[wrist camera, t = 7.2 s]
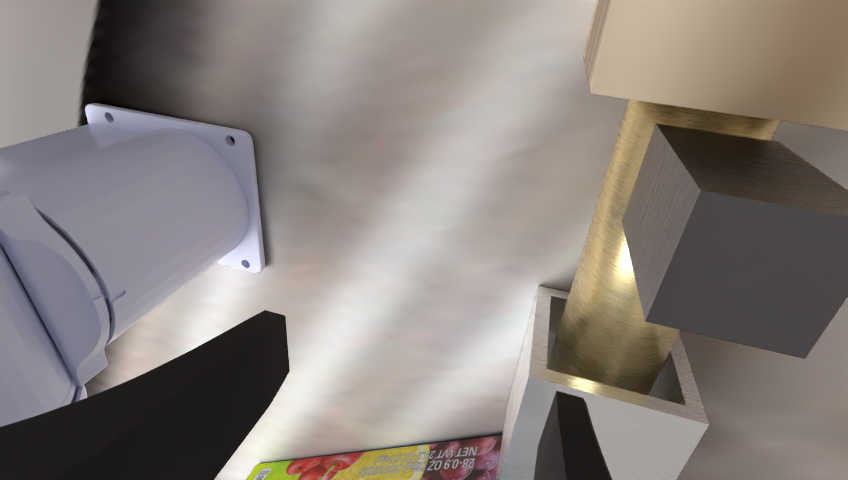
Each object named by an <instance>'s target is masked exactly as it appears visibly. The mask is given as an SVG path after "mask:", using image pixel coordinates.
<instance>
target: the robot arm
mask: <svg viewBox="0 0 848 480" xmlns="http://www.w3.org/2000/svg"><path fill="white" fill-rule="evenodd" d="M85 111H86V116H87V119H88V123H89V124H88V125H85V126H81V127H77V128H74V129H70V130H66V131H63V132H59V133H55V134H51V135H48V136H44V137H40V138H36V139H33V140H29V141H25V142H22V143H18V144H15V145H11V146H7V147H3V148H0V480H214V479H215V477H216V476H217V475H218V473H219V472H220V471H221V469H222V468H223V467H224V466H225V464H226V463H227V462H228V460H229V459H230V458H231V456H232V455H233V454H234V452H235V451H236V450H237V448H238V447H239V446H240V444H241V443H242V442H243V440H244V439H245V438H246V436H247V435H248V434H249V432H250V431H251V430H252V429H253V427H254V426H255V424H256V423H257V422H258V420H259V419H260V418H261V416H262V415H263V414H264V412H265V411H266V410H267V408H268V407H269V405H270V404H271V402H272V401H273V399H274V397H275V396H276V394H277V392H278V391H279V389H280V387H281V385H282V384H283V382H284V380H285V378H286V376H287V374H288V373H289V371H290V370H289V358H288V345H287V333H286V321H285V316H284V315H281V314H277V313H273V312H270V311H266V310H265V311H263V312H261V313H259V314H257V315H255V316H253V317H251V318H249V319H248V320H246V321H244V322H242V323H240V324H239V325H237V326H235V327H233V328H231V329H230V330H228V331H226V332H224V333H222V334H221V335H219V336H217V337H215V338H213V339H211V340H210V341H208V342H206V343H204V344H202V345H200V346H198V347H197V348H195V349H193V350H191V351H189V352H187V353H185V354H183V355H181V356H179V357H177V358H175V359H173V360H171V361H169V362H167V363H165V364H163V365H161V366H159V367H157V368H155V369H153V370H151V371H149V372H147V373H145V374H142V375H140V376H138V377H136V378H134V379H131V380H129V381H127V382H125V383H122V384H120V385H117V386H115V387H113V388H110V389H108V390H105V391H103V392H100V393H98V394H96V395H93V396H90V397H88V398H87V393H86V388H85V386H84V384H85V383H86V382H88V381H89V380H90V379H91V378H93V377H94V376H95V375H96V374H98V373H99V372H100V371H101V370H102V369H104V368H105V367H106V366H107V365H108V362H107V359H106V357H105V352H104V348H105V346H107V345H108V344H109V343H111V342H112V341H113V340H115V339H116V338H117V337H119V336H120V335H121V334H123V333H124V332H125V331H127V330H128V329H129V328H131V327H132V326H133V325H134V324H136V323H137V322H138V321H140V320H141V319H142V318H144V317H145V316H146V315H148V314H149V313H150V312H152V311H153V310H154V309H156V308H157V307H158V306H160V305H161V304H162V303H164V302H165V301H166V300H167V299H169V298H170V297H171V296H173V295H174V294H175V293H177V292H178V291H179V290H181V289H182V288H183V287H185V286H186V285H187V284H189V283H190V282H191V281H193V280H194V279H195V278H197V277H198V276H199V275H200V274H202V273H203V272H204V271H206V270H207V269H208V268H210V267H211V266H212V265H214V264H215V263H218V264H222V265H226V266H230V267H234V268H238V269H241V270H245V271H249V272H253V273H260V272H261V271H262V270H263V269H264V268H265V257H264V247H263V237H262V227H261V217H260V207H259V197H258V187H257V177H256V167H255V157H254V147H253V140H252V138H251V136H250V134H248V133H247V132H246V131H243V130H239V129H233V128H228V127H222V126H217V125H212V124H206V123H201V122H195V121H190V120H185V119H179V118H174V117H168V116H163V115H158V114H152V113H147V112H141V111H136V110H131V109H125V108H120V107H114V106H109V105H104V104H98V103H93V104H88V105H87V106H86V109H85ZM112 116H113V117H112ZM231 136H232V137H233V138H234V140H235V143H233V142H232V140H231V138H230V137H231ZM246 260H247V261H248V262H249V263H248V262H247V261H246ZM534 480H612V477H611V475H610V472H609V470H608V467H607V465H606V462H605V459H604V457H603V454H602V451H601V448H600V446H599V443H598V440H597V437H596V434H595V431H594V428H593V425H592V422H591V418H590V415H589V411H588V408H587V404H586V402H585V400H584V399H583V398H582V397H578V396H574V395H571V394H567V393H564V392H560V391H556V393H555V396H554V399H553V402H552V405H551V408H550V411H549V414H548V417H547V420H546V423H545V426H544V429H543V432H542V435H541V438H540V441H539V444H538V449H537V457H536V465H535V473H534Z"/></svg>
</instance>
